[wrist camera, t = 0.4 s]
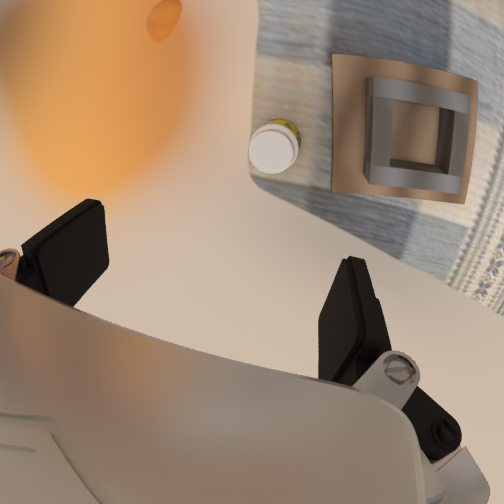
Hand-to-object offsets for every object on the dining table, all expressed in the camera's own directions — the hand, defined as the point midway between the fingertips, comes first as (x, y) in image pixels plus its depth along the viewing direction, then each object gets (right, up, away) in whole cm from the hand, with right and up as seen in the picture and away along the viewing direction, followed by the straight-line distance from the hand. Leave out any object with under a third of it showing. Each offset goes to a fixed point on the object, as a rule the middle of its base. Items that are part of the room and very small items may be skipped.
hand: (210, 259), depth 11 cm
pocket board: (+19, +14, +17) cm, 29 cm away
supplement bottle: (+5, +13, +21) cm, 25 cm away
